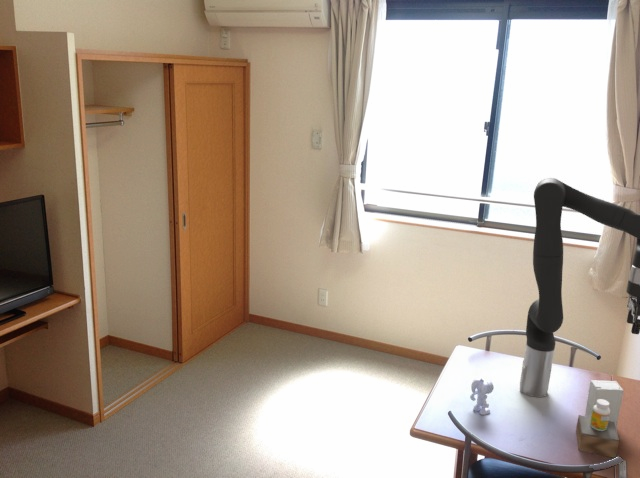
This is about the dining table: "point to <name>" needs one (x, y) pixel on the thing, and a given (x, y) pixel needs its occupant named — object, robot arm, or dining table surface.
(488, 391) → the toy figurine
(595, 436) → the walnut block
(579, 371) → the dining table surface
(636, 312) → the robot arm
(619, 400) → the skincare box
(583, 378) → the dining table surface
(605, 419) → the supplement bottle
